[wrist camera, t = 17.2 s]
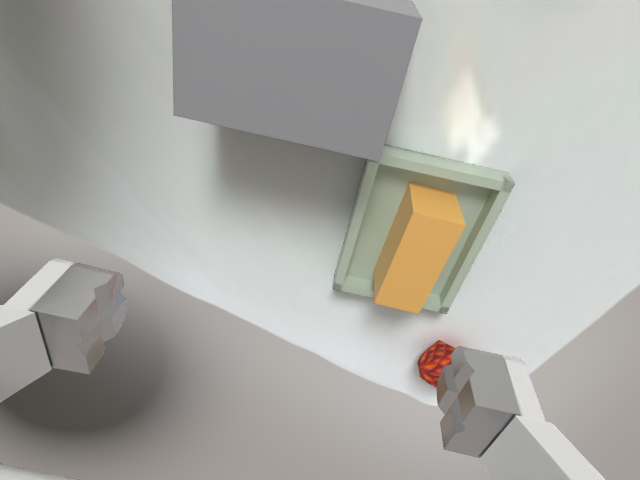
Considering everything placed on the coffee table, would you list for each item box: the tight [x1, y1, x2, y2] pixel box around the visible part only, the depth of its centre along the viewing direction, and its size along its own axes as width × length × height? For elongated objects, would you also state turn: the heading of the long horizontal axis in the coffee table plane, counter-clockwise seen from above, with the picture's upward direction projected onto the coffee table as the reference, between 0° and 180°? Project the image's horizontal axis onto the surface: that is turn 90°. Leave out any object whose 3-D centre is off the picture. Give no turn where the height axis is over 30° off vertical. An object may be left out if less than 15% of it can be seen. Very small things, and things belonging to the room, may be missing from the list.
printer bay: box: [172, 0, 422, 162], centre depth 33 cm, size 16×10×10 cm, turn 79°
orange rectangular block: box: [374, 182, 466, 314], centre depth 45 cm, size 5×13×6 cm, turn 167°
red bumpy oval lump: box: [418, 340, 456, 387], centre depth 56 cm, size 6×7×8 cm
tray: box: [333, 145, 515, 314], centre depth 46 cm, size 14×18×2 cm
